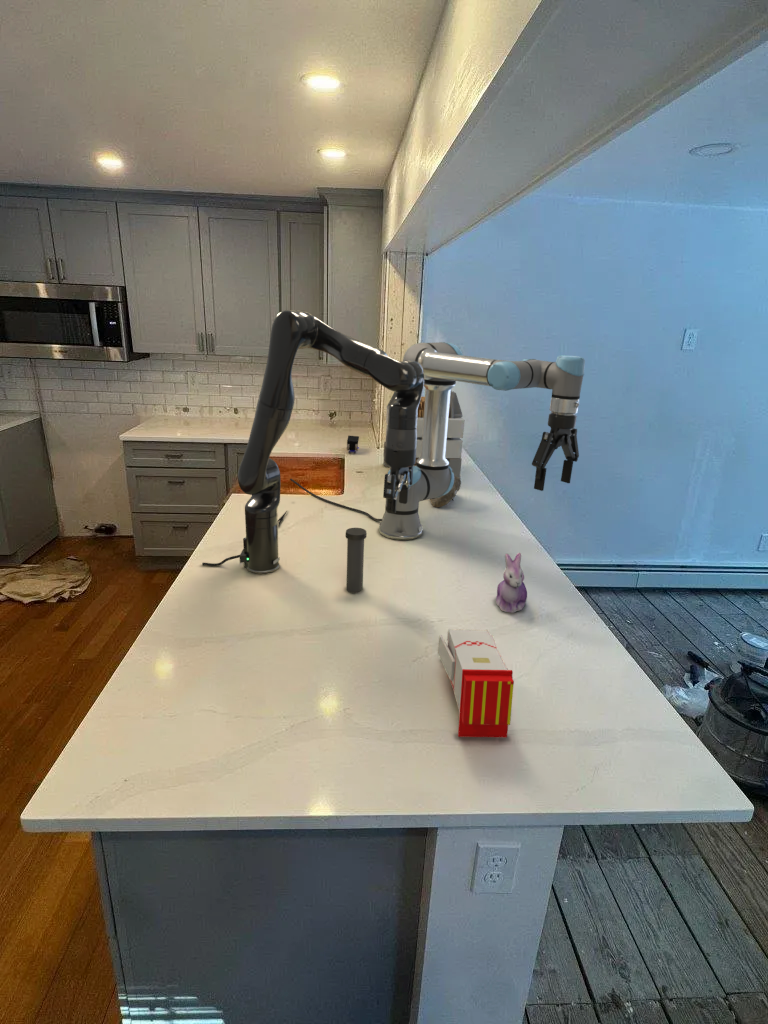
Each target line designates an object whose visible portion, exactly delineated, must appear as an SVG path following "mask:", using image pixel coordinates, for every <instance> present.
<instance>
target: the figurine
mask: <svg viewBox="0 0 768 1024" xmlns="http://www.w3.org/2000/svg"><path fill="white" fill-rule="evenodd" d="M511 557H512V556H511V555H509V553H505V555H504V559H505V560H504V561H505V569H504V571H503V580H502V581H500V582H499V583H498V585H497V589H496V597H495V603H496V606H497V607H499V609H500V610H501V611H502V612H505V613H512V614H513V613H517V612H519V611H522V610H523V609H524V608H525V605H526V602H527V599H528V590H527V586H526V584H525V582H524V580H525V574H524V571H523V569H522V567H521V562H522V561H521V560H522V553H521V552H518V553H516V554H515V557H514V559H512V558H511Z"/></svg>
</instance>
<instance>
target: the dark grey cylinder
mask: <svg viewBox="0 0 768 1024" xmlns="http://www.w3.org/2000/svg"><path fill="white" fill-rule="evenodd" d="M346 545H347V547H346V548H347V549H346V585H345V586H346V589H345V590H346V591H347V592H348V593H351V594H359V593H361V592H363V590H364V589H363V588H364V561H365V560H364V559H365V558H364V557H365V555H364V554H365V539H363V540H359V541H354V540H349V539H347V542H346Z"/></svg>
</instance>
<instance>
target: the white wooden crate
mask: <svg viewBox="0 0 768 1024" xmlns="http://www.w3.org/2000/svg"><path fill="white" fill-rule="evenodd" d="M395 396H396V392H394V391H393V394H392V395H391V398H390V400H389V402H388V404H387V405H386V413H385V414H386V415H385V423H386V428H385V435H386V434H387V428H388V412H389V406H390V405H391V403H392V402H393V401H394V400H395ZM424 404H425V396H421V400H420V403H419V406H418V414H417V446H416V460H415V465H414V466H416V461H417V459H418V458H420V457H421V449H422V434H423V419H424ZM464 429H465V419H464V418H463V411H462V408H461V405H460V402H459V398H458V395H457V392H455V391H453V390H451V392H450V404H449V416H448V428H447V441H446V453H445V458H446V459H447V461H448V462H449V466H450V467H451V469H452V473H454V476H456V477H458V478H460V479H461V472H462V461H463V460H462V453H463V442H464V441H463V440H462V439H463V438H464V431H465V430H464ZM385 449H386V437H385V438H384V442H383V466H384V467H388V468H389V470H390V469H391V467H390V466H389V465H387V464H386V463H385Z"/></svg>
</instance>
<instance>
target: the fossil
mask: <svg viewBox="0 0 768 1024" xmlns="http://www.w3.org/2000/svg"><path fill="white" fill-rule="evenodd" d="M461 485H462V481H461V477H460V478H458V477H456V476H454V484H453V487H452V489H451V490H450V491H449V492H448V493H447V494H445V495H443V496H441V497H438V498H432V499H429V500H430V504H431V505H432V507H433V508H441V507H443V506H447V505H448V504H449V503H450V502H451V501H452V502H454V498H455V497H456V495H457V493H458V492H459V491H460V489H461Z"/></svg>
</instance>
